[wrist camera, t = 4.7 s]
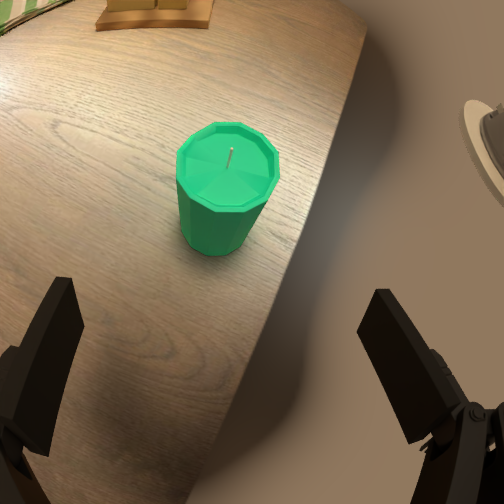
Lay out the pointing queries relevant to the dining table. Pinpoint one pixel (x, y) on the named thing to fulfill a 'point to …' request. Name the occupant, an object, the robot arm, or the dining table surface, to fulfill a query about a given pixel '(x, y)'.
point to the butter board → (158, 17)
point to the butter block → (130, 5)
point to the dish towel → (22, 11)
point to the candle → (223, 185)
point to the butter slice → (172, 4)
